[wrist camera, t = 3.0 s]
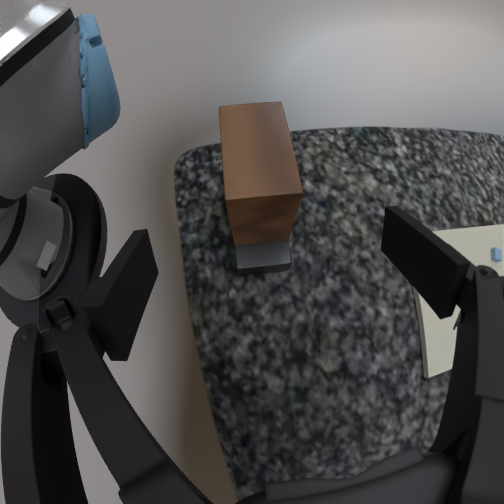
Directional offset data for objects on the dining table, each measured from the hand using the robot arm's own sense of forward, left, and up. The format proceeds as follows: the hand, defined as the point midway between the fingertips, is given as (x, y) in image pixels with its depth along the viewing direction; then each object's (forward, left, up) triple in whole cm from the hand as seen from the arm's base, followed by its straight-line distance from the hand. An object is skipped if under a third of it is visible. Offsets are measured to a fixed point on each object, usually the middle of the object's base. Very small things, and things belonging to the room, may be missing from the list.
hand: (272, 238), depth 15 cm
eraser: (0, +7, -12) cm, 14 cm away
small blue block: (+29, -1, -11) cm, 31 cm away
